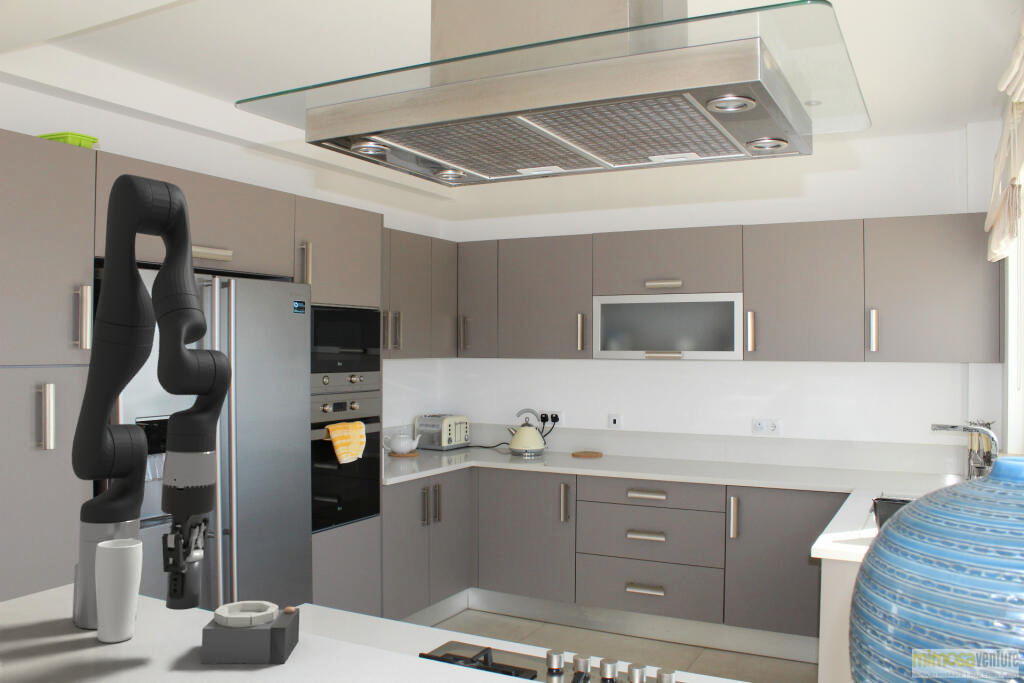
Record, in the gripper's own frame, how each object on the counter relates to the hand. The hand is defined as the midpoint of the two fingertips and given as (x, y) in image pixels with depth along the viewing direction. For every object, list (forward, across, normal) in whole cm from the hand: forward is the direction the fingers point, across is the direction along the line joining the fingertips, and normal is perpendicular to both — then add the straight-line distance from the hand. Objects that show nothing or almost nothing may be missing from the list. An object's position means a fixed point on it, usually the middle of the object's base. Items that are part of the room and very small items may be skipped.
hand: (183, 592), depth 123 cm
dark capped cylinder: (+2, 0, 0) cm, 2 cm away
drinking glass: (+10, -7, -12) cm, 17 cm away
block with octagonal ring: (+9, -1, +10) cm, 14 cm away
